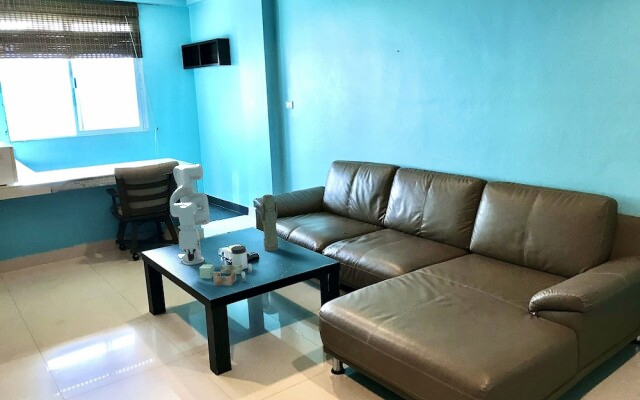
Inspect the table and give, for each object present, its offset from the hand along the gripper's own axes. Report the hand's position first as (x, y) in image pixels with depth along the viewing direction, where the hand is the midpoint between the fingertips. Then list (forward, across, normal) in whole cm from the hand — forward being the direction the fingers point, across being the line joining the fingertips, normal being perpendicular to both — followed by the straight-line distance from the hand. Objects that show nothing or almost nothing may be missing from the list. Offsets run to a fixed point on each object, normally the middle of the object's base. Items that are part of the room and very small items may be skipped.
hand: (191, 260), depth 270 cm
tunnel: (+10, +20, -2) cm, 22 cm away
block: (+10, +8, +1) cm, 13 cm away
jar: (+9, +22, +15) cm, 28 cm away
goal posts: (+10, +30, +1) cm, 32 cm away
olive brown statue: (+8, +32, +48) cm, 58 cm away
